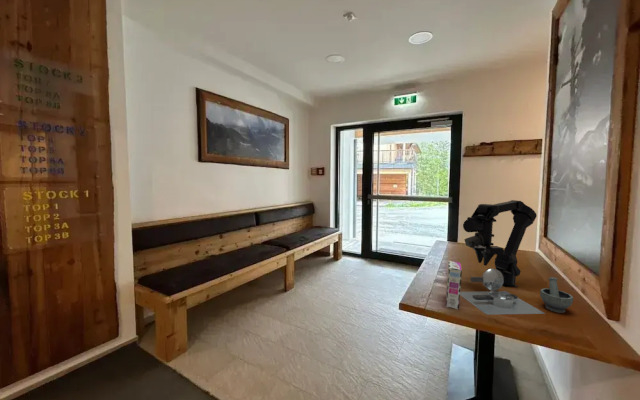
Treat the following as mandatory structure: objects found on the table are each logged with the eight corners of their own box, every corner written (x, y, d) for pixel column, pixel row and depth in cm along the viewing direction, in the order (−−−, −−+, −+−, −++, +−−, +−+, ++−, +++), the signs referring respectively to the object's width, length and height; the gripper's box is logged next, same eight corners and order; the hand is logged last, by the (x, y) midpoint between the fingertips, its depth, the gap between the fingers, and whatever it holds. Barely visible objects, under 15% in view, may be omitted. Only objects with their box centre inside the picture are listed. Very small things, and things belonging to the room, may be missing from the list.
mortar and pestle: (575, 318, 100) (578, 287, 99) (544, 312, 104) (547, 283, 103) (563, 305, 110) (566, 277, 109) (535, 300, 114) (537, 273, 113)
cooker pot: (506, 297, 116) (506, 290, 116) (523, 307, 107) (524, 300, 107) (466, 297, 115) (467, 290, 115) (480, 308, 106) (481, 300, 106)
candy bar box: (459, 310, 104) (462, 270, 103) (445, 307, 107) (448, 268, 105) (458, 299, 115) (460, 262, 113) (445, 296, 117) (447, 260, 115)
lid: (504, 290, 115) (501, 289, 116) (503, 268, 115) (500, 267, 117) (472, 290, 114) (470, 289, 116) (471, 268, 115) (469, 268, 116)
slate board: (506, 292, 122) (506, 291, 122) (545, 314, 103) (545, 313, 103) (456, 292, 121) (456, 291, 121) (486, 315, 101) (486, 314, 101)
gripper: (456, 227, 132) (454, 258, 134) (481, 235, 114) (479, 271, 115) (478, 227, 133) (475, 257, 134) (506, 235, 114) (503, 271, 116)
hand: (482, 264), depth 125 cm, fingers open, 3 cm apart
